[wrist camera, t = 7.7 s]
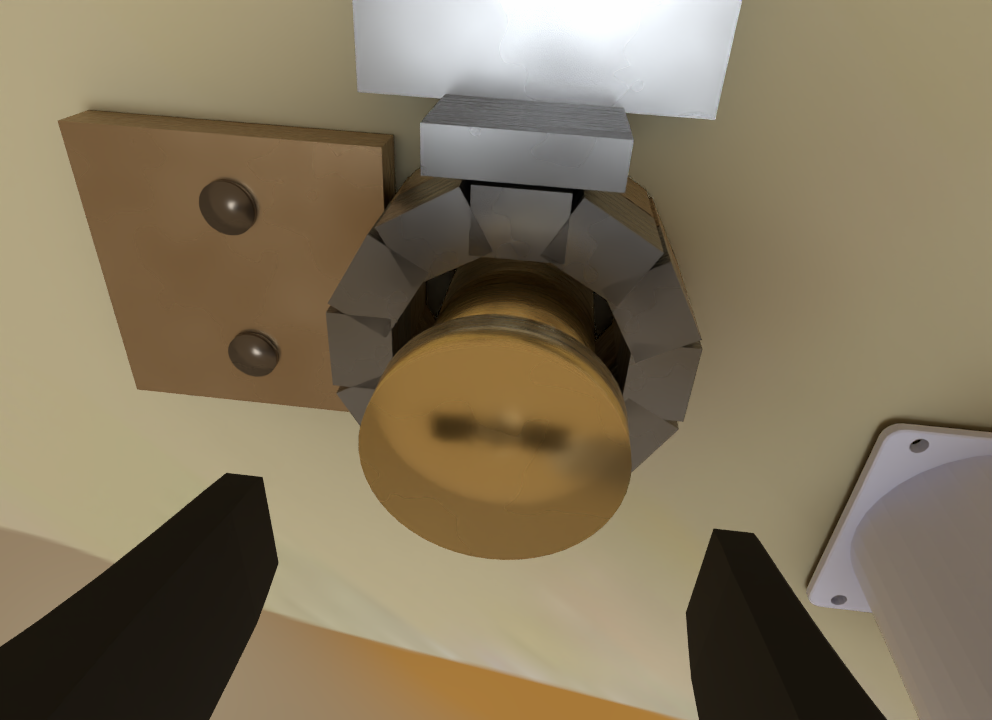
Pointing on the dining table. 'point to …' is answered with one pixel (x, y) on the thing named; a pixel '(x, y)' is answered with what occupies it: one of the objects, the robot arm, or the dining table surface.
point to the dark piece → (534, 172)
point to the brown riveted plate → (238, 246)
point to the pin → (501, 418)
